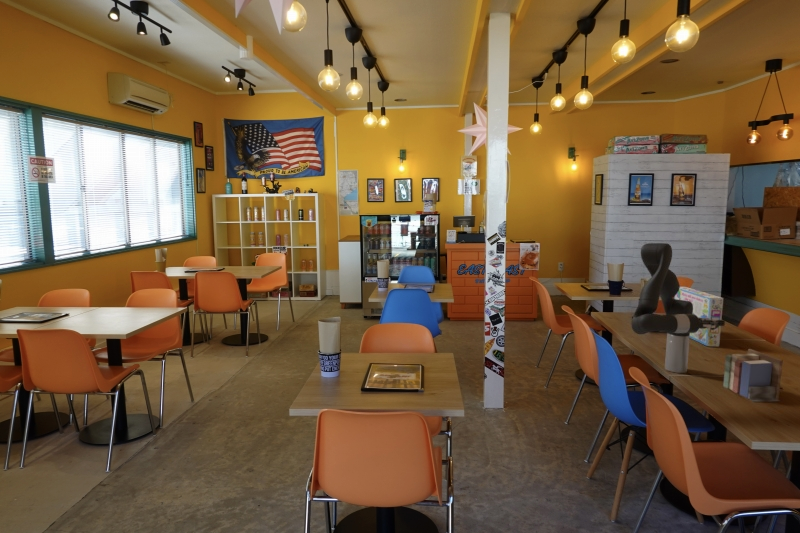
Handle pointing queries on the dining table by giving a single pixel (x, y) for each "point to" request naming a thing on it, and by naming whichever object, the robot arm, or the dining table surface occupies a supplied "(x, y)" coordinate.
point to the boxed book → (755, 375)
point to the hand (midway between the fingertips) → (723, 322)
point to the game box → (703, 313)
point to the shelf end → (758, 392)
